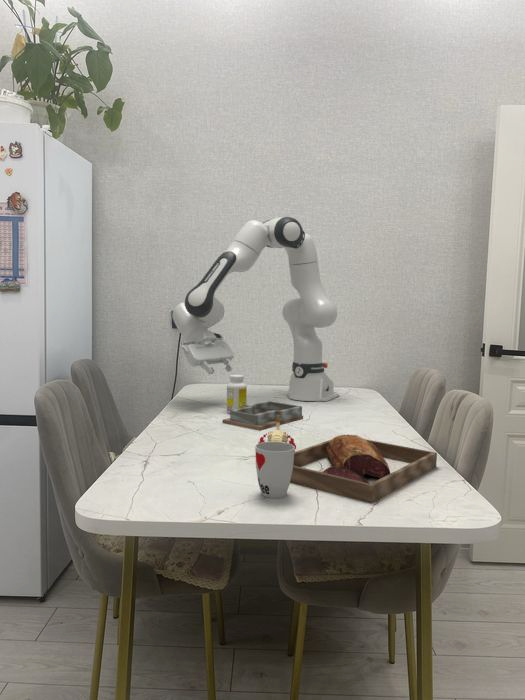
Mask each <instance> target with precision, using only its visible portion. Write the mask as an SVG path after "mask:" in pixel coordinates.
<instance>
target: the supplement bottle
mask: <svg viewBox="0 0 525 700" xmlns="http://www.w3.org/2000/svg"><path fill="white" fill-rule="evenodd" d="M244 378H245V375H242V374H231V375H229V380H230V382H228V383H227V386H226V411H227V414H229V415H230V411H232V410H237V409H241V408H246V406H247V392H248V391H247V384H246V383H245V382H244V380H245V379H244Z"/></svg>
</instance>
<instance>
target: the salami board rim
mask: <svg viewBox="0 0 525 700" xmlns="http://www.w3.org/2000/svg"><path fill="white" fill-rule="evenodd" d="M365 439H366V438H365ZM330 440H331V439H329V440H326V441H325V440H324V441H323V442H320V443H317V444H314V445H312V446H308V447H305V448H302V449H300V450H297V451H295V452H294V462H293V470H292V475H291V480H290V483H292V484H296V485H300V486H305V487H308V488H312V489H317V490H319V491H324V492H328V493H331V494H335V495H338V496H342V497H346V498H350V499H354V500H358V501H363V502H366V503H370V504H373V503H374V502H375V503H376V502H377V501H379V499H382V498H384V497H386V496H387V495H389V494H391V493H392V492H395V491H396V490H398V489H400V488H401V487H403V486H406V485H407V484H408V483H410V482H412V481H414V480H416V479H417V478H419V477H421V476H422V475H424V474H426V473H428V472H429V471H432V470H433V469H435V468H437V463H438V462H437V456H438V453H437V452H436V451H429V450H425V449H419V448H415V447H410V446H409V447H408V446H404V445H399V444H398V445H397V444H394V443H393V444H391V443H387V442H382V441H376V440H371V439H366V440H368V441H369V442H371V443H372V444H374V445H375V446H376V448H377V449H378V450H379V452H380V453H381V455H382V456H383V458H384V459H385V458H386V459H390V460H394V461H398V462H399V461H400V462H404V463H405V462H406V463H408V464H407V465H405V466H403V467H401V468H399V469H397V470H395V471H393V472H390V473H391V474H389V475H387V476H385V477H383V478H379V479H377V480H376V481H373V482H371V483H370V482H369V483H370V484H369V483H365V482H361V481H357V480H352V479H348V478H344V477H340V476H335V475H331V474H327V473H323V471H318V470H313V469H309V468H306V467H302V466H304V465H307V464H309V463H313V462H315V461H318V460H320V459H323V458H326V457H328V455H327V453H326V448H327V447H329V442H330Z"/></svg>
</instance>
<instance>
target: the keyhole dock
mask: <svg viewBox="0 0 525 700" xmlns="http://www.w3.org/2000/svg"><path fill="white" fill-rule="evenodd" d="M277 415H280V426H282V425H285V424H287V423H292V422H295V421H299V420H303V419H304V415H303V406H302V405H296V404H289V403H285V402H284V403H283V402H277V401H270V400H267V401H262V402H257V403H253V404H248V405H247V404H246V408H241V409H237V410H232V411H230V414H229V417H228V418H225V419H222V421H221V423H222V424H226V425H231V426H235V427H236V426H237V427H240V428H241V427H242V428H246V429H249V430H250V429H251V430H254V431H255V430H256V431H263V430H266V429H270V428H273V427H276V424H277Z"/></svg>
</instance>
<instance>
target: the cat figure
mask: <svg viewBox="0 0 525 700" xmlns="http://www.w3.org/2000/svg"><path fill="white" fill-rule="evenodd" d="M275 427H276V428H275V430H270V431H269V432H267V433H265V434H263V436H261V437H259V441H257V444H259V443H262V442H266V441H265V439H264V438H266V437H267V440H269V441H268V442H284V443H287V440H289V441H288V443H289V444H292V445H294V446H295V451H294V452H296V450H297V444H296V443H295V439H294V438H293V437H291V435H289V433H287V431H285V430H284V431H281V430H280V429H281V425H280V415H277V424H276V426H275Z"/></svg>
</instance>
